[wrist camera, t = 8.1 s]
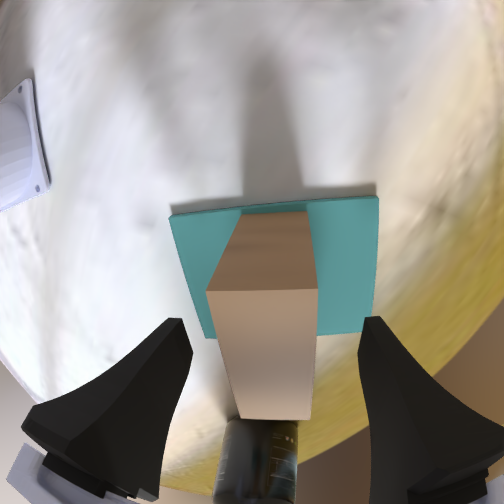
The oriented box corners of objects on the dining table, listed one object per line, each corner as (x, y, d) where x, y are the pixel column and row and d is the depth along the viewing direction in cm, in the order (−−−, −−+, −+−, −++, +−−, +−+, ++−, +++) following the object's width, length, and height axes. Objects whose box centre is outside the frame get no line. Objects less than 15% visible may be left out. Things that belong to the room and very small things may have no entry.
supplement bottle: (256, 444, 25) (240, 539, 14) (212, 418, 23) (183, 528, 12) (312, 431, 22) (306, 542, 12) (271, 403, 20) (252, 539, 10)
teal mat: (207, 333, 17) (205, 338, 17) (171, 215, 14) (168, 218, 13) (367, 326, 15) (368, 331, 15) (376, 195, 12) (378, 198, 12)
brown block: (308, 328, 15) (309, 419, 10) (256, 329, 16) (241, 418, 11) (307, 210, 12) (317, 288, 7) (241, 214, 13) (205, 291, 8)
